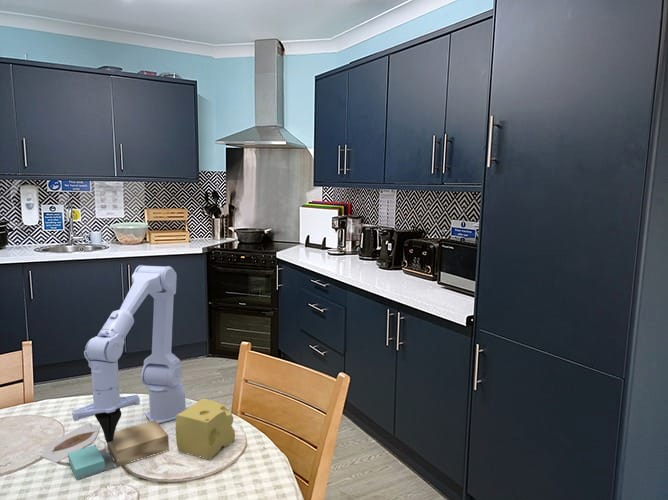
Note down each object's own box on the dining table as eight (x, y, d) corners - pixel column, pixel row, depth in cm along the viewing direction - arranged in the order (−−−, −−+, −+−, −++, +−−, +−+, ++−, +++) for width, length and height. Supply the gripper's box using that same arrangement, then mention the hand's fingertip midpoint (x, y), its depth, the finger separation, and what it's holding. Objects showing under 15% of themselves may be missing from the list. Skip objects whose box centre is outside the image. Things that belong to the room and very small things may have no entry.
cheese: (235, 441, 124) (234, 404, 123) (208, 462, 114) (206, 422, 113) (203, 432, 128) (202, 397, 127) (174, 452, 118) (173, 414, 117)
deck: (155, 434, 127) (155, 420, 127) (168, 450, 119) (168, 435, 119) (107, 449, 120) (106, 434, 119) (117, 466, 112) (116, 450, 111)
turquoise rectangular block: (68, 452, 114) (68, 460, 114) (75, 469, 107) (76, 478, 107) (95, 444, 117) (95, 452, 118) (104, 460, 110) (104, 468, 111)
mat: (105, 449, 119) (105, 448, 119) (115, 467, 112) (115, 466, 112) (69, 460, 115) (69, 459, 115) (77, 480, 107) (77, 479, 107)
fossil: (88, 422, 132) (113, 428, 128) (89, 426, 133) (114, 432, 128) (30, 452, 118) (56, 460, 114) (30, 456, 118) (56, 464, 114)
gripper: (74, 399, 106) (78, 457, 107) (142, 383, 115) (145, 437, 116) (69, 389, 111) (73, 444, 113) (134, 375, 120) (136, 426, 122)
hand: (109, 440), depth 115 cm, fingers closed
